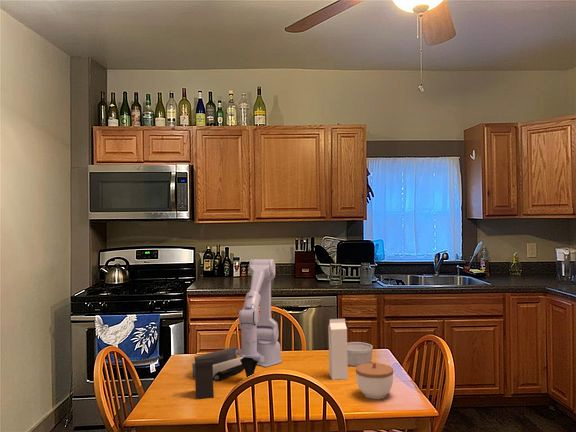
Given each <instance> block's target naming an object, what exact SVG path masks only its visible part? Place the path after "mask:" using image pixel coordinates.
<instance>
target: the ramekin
mask: <svg viewBox="0 0 576 432" xmlns="http://www.w3.org/2000/svg"><path fill="white" fill-rule="evenodd" d="M372 355H373V345H372V344H370V343H367V342H361V341H350V342H347V362H348V367H349V366H350V367H357V366H358V365H361V364H365V363H372V358H373V357H372Z"/></svg>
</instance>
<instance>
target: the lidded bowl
mask: <svg viewBox="0 0 576 432" xmlns="http://www.w3.org/2000/svg"><path fill="white" fill-rule="evenodd" d="M355 374H356V375H355V377H356V383H357V387H358V389H359V391H361V393H362V394H363V395H364V397H366V398H367V399H373V400H374V399H375V400H378V399H379V400H380V399H384V398H386V396H387V394H388V393H389V392H391V389H392V388H393V387H392V386H393V382H394V368H393V367H392V366H390V365H387V364H385V363H379V362H374V361H373V362H370V363H365V364H361V365H358V366H355Z"/></svg>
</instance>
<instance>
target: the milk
mask: <svg viewBox="0 0 576 432" xmlns="http://www.w3.org/2000/svg"><path fill="white" fill-rule="evenodd" d="M327 327H328V329H327V330H328V367H329V368H328V369H329V371H328V372H329V373H328V374H329V376H330V379H331V380H332V381H335V380H338V379H340V380H348V379H349V371H348V370H349V369H348V367H349V365H348V362H347V343H348V327H347V324H346V318H335V319H334V318H330V319H329V324H328V325H327Z"/></svg>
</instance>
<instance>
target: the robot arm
mask: <svg viewBox="0 0 576 432" xmlns="http://www.w3.org/2000/svg"><path fill="white" fill-rule="evenodd" d="M275 262H276V261H275V259H274V258H271V259H270V258H267V259H266V258H263V259H262V258H261V259H260V258H258V259H257V258H256V259H255V258H251V259H250V260H249V264H248V271H249V273H250V274H249V275H250V277H251V280H250V281H251V282H250V290H249V291H248V292H247V293H246V295H245V298H244V303H243V307H242V309H240V310H239V312H238V323H239V329H240V330H241V331H240V334H241V337H240V338H241V348H238V349H237V348H236V350H235V355H236V356H239V358H240V357H243V359H240V361H241V363H242V365H243V367H244V372H245V376H246V378H247V377H248V376H250V375H252V374H254V375H255V370H256V367H257V365H258V366H260V367H264V368H267V367H270V366H274V365H276V364H277V365H278V364H280V363H282V362H283V360H282V359H281V358H282V357H281V356H282V355H281V354H282V353H281V352H282V351H281V344H280V342H279V341H278V339H279V332H280V331H279V324H278V322H277V321H276V320H275V319H274V318H272V280H273V279H276V278H275V277H276V263H275Z"/></svg>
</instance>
